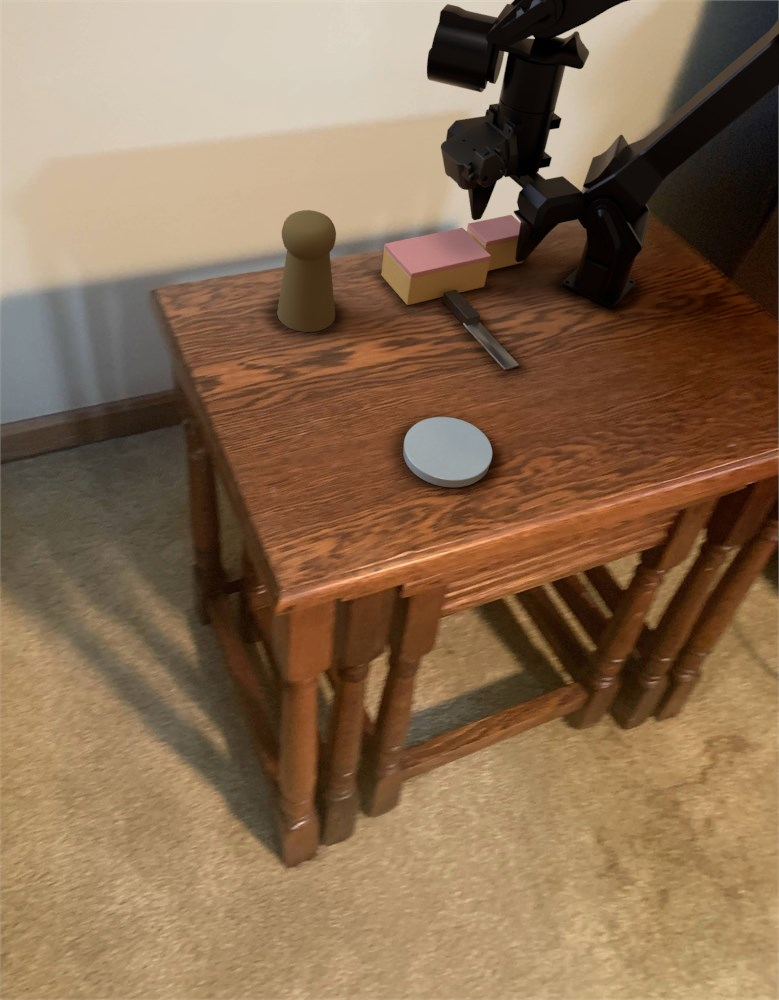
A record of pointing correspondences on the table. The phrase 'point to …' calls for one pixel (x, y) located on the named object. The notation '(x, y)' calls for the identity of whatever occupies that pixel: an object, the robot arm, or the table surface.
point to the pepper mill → (307, 272)
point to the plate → (447, 452)
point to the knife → (477, 329)
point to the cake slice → (497, 239)
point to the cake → (434, 265)
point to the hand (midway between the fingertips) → (497, 239)
